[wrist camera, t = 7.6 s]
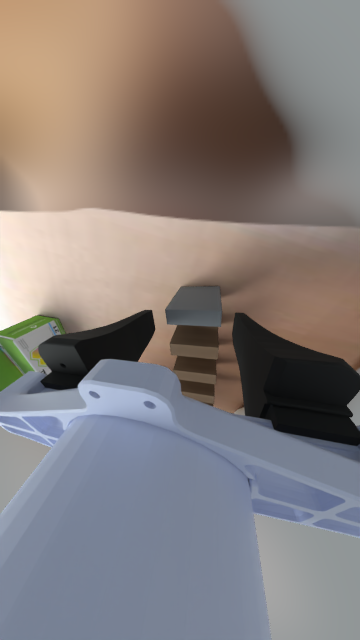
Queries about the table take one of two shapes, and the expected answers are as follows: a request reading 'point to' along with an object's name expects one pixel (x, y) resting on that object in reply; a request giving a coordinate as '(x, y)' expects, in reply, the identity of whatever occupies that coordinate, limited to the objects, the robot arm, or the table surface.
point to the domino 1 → (195, 307)
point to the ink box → (25, 348)
